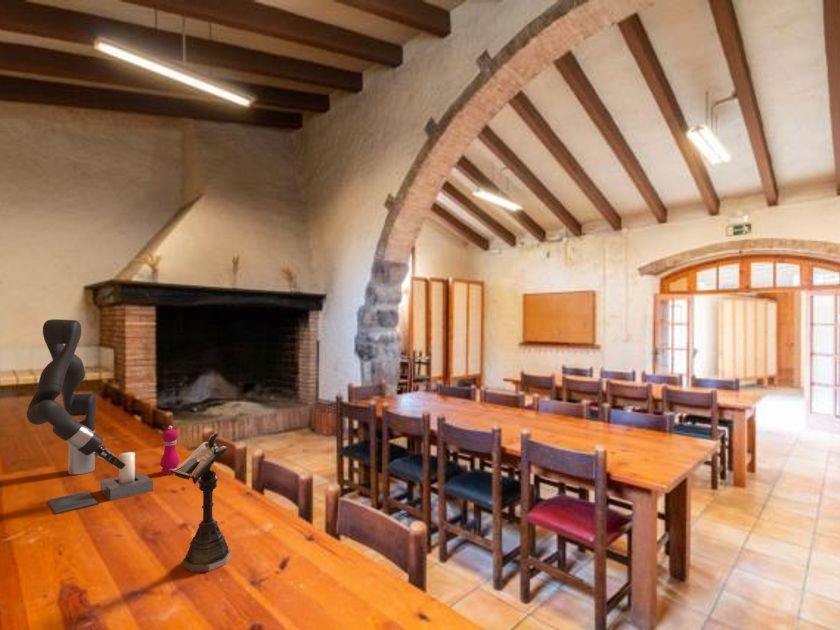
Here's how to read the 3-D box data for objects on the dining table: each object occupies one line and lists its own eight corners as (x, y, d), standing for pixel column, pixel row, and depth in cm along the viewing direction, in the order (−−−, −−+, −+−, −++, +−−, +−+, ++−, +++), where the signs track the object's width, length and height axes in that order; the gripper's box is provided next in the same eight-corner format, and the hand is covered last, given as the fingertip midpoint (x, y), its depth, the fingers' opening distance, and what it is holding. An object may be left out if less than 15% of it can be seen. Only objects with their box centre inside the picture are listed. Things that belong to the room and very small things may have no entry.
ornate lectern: (182, 587, 118) (183, 445, 118) (157, 570, 125) (158, 437, 126) (242, 560, 131) (243, 432, 131) (216, 546, 139) (217, 426, 139)
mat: (47, 501, 171) (47, 499, 171) (87, 492, 180) (87, 491, 180) (55, 514, 160) (55, 512, 160) (98, 504, 169) (98, 502, 169)
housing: (100, 490, 182) (100, 480, 182) (141, 481, 192) (141, 471, 192) (110, 500, 173) (110, 489, 173) (152, 490, 183) (152, 480, 183)
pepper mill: (171, 475, 199) (171, 428, 200) (156, 474, 201) (156, 427, 201) (183, 470, 207) (183, 424, 207) (168, 469, 208) (168, 423, 208)
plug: (117, 490, 182) (117, 454, 182) (132, 487, 186) (132, 451, 186) (120, 494, 179) (121, 456, 179) (136, 490, 182) (136, 454, 183)
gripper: (97, 434, 170) (133, 460, 178) (88, 428, 180) (122, 452, 188) (79, 452, 166) (117, 477, 174) (71, 444, 176) (107, 469, 184)
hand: (120, 464), depth 181 cm, fingers open, 8 cm apart
